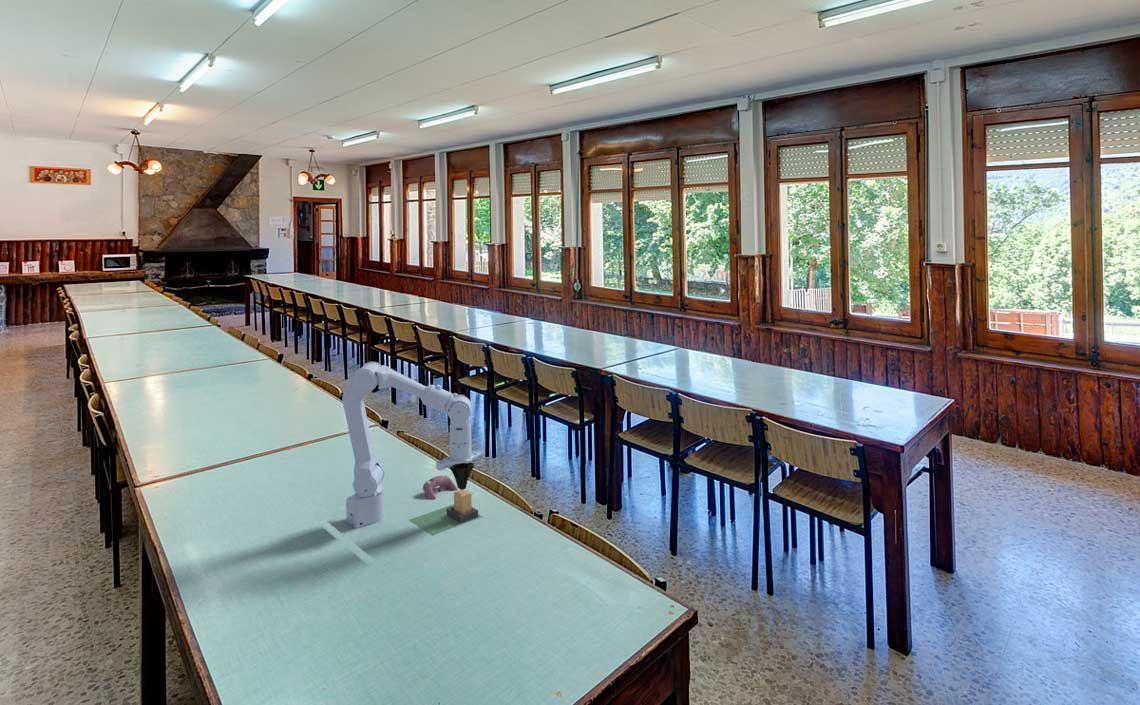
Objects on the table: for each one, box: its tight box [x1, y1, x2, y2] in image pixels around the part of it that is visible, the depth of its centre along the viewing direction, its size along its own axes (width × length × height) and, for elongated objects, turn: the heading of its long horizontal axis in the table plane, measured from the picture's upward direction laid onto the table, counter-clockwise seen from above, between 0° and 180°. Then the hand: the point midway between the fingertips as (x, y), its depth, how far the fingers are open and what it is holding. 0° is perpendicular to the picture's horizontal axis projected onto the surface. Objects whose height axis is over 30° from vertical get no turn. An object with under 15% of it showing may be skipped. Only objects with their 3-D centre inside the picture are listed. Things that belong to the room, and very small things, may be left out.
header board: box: [409, 503, 483, 536], centre depth 168 cm, size 16×12×3 cm
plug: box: [453, 489, 473, 515], centre depth 169 cm, size 3×4×7 cm
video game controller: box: [422, 475, 458, 500], centre depth 185 cm, size 10×5×7 cm, turn 141°
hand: (461, 488), depth 168 cm, fingers closed
